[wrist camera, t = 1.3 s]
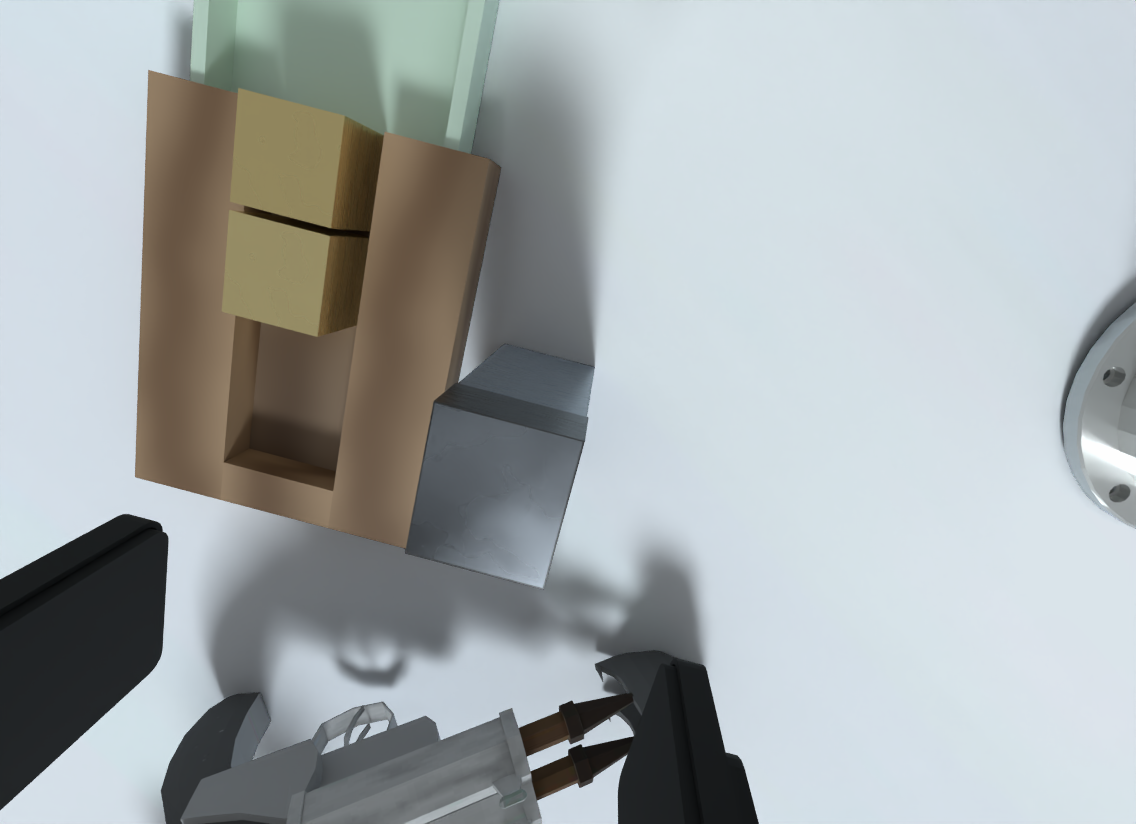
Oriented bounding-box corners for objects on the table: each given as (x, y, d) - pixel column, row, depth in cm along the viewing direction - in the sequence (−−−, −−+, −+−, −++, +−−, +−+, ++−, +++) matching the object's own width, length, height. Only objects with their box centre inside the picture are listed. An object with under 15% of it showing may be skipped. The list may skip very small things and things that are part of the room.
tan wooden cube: (386, 137, 25) (344, 115, 21) (373, 231, 26) (330, 228, 22) (296, 113, 25) (238, 87, 21) (287, 209, 26) (229, 201, 22)
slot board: (500, 167, 25) (489, 159, 23) (429, 527, 30) (413, 550, 28) (191, 86, 25) (148, 70, 23) (171, 459, 30) (134, 477, 28)
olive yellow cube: (372, 238, 26) (330, 236, 22) (359, 324, 27) (317, 337, 23) (286, 215, 26) (229, 209, 22) (277, 303, 27) (221, 311, 23)
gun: (184, 688, 33) (44, 977, 19) (609, 548, 40) (733, 685, 26) (214, 761, 34) (103, 1081, 20) (620, 613, 41) (744, 776, 27)
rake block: (595, 366, 27) (584, 440, 16) (569, 463, 28) (544, 589, 18) (504, 342, 27) (433, 400, 16) (482, 440, 28) (404, 553, 18)
